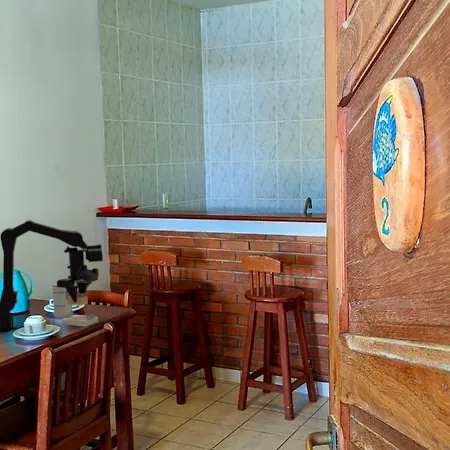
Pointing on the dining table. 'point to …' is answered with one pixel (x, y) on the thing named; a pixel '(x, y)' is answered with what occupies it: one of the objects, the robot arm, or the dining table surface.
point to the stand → (79, 319)
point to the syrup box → (60, 301)
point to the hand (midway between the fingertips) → (78, 301)
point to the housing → (78, 299)
